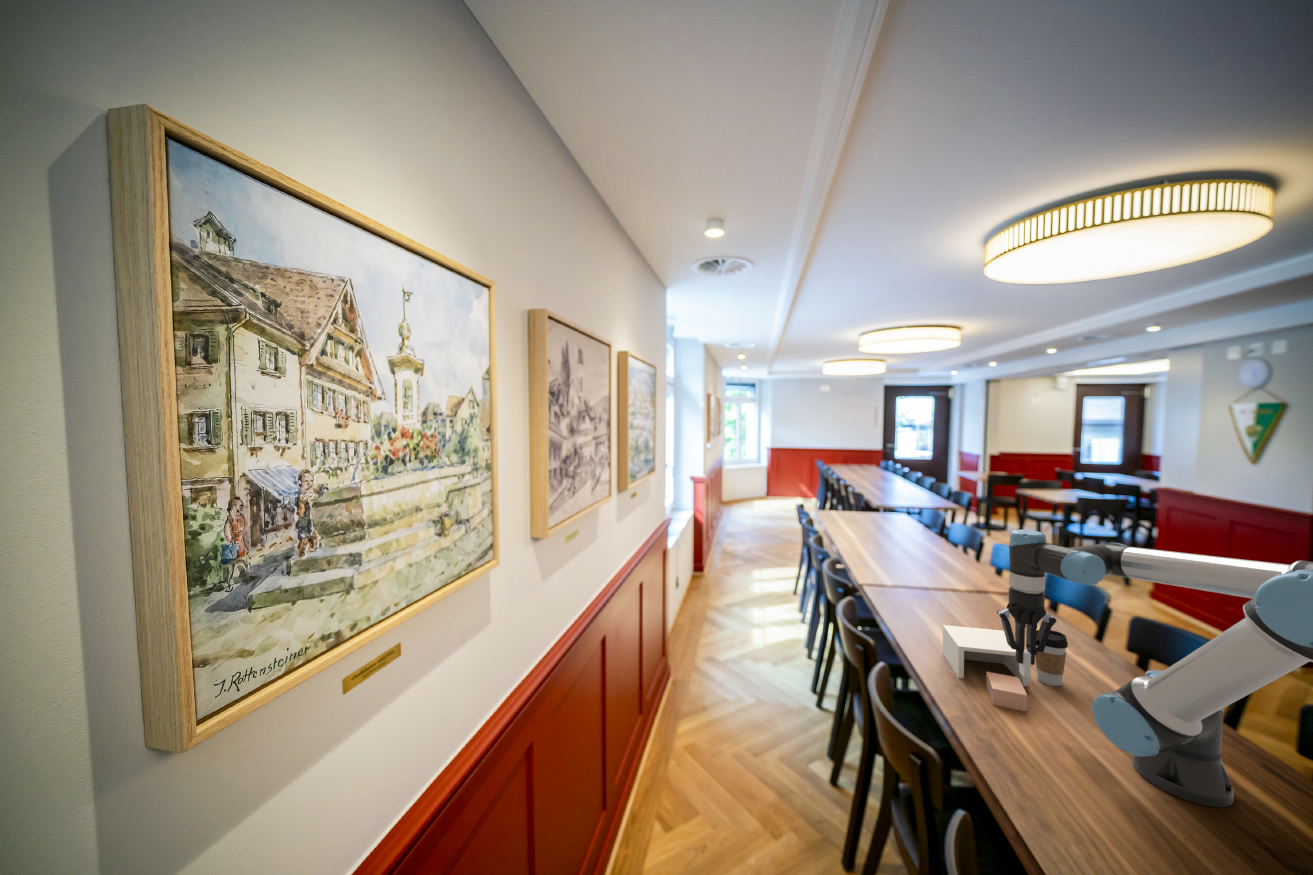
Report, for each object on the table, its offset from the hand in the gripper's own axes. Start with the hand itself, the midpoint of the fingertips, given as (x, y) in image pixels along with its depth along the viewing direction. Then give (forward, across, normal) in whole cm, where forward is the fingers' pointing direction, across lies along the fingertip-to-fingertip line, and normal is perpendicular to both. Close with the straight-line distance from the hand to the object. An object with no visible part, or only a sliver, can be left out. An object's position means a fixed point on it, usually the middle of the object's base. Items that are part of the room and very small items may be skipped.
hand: (1024, 674), depth 125 cm
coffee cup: (+14, -17, -26) cm, 34 cm away
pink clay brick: (+14, 0, -12) cm, 18 cm away
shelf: (+14, 0, -29) cm, 32 cm away
